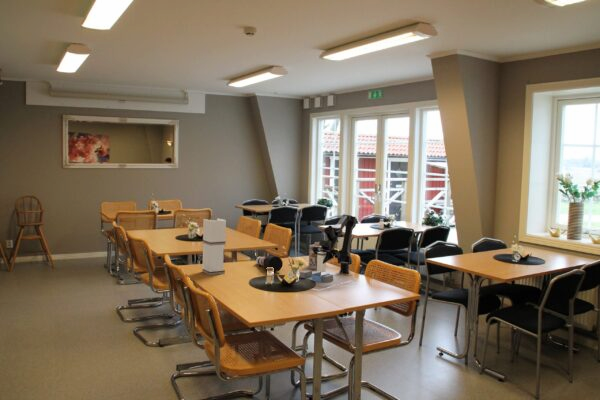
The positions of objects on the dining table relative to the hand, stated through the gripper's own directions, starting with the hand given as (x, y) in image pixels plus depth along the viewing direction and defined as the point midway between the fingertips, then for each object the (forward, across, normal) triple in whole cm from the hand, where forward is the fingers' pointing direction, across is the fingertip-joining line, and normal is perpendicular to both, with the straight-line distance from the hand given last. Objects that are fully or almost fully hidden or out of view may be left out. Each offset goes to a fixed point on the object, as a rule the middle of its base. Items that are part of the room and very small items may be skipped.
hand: (320, 262), depth 318 cm
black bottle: (+3, -51, +14) cm, 53 cm away
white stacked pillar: (+29, -65, -12) cm, 72 cm away
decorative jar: (-16, -27, +34) cm, 46 cm away
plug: (+3, 0, +5) cm, 6 cm away
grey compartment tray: (+8, -4, +9) cm, 13 cm away
